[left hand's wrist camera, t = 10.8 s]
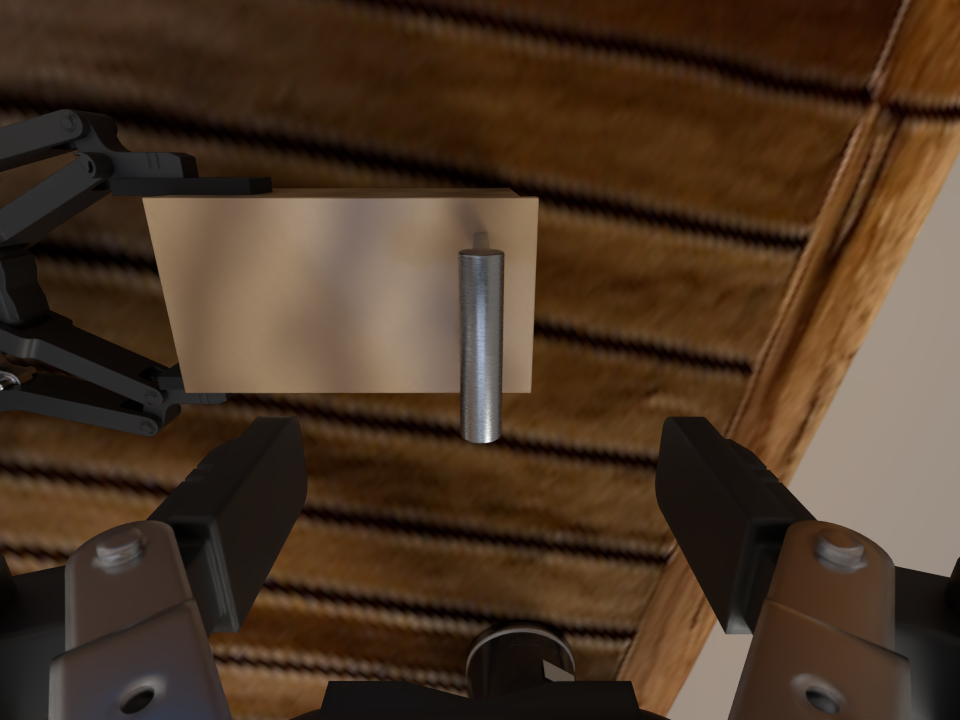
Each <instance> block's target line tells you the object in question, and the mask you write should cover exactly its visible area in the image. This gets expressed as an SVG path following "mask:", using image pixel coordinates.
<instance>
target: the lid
mask: <svg viewBox="0 0 960 720" xmlns="http://www.w3.org/2000/svg"><path fill="white" fill-rule="evenodd" d="M142 200H143V204H144V209H145V213H146V218H147V222H148V226H149V231H150V235H151V240H152V244H153V249H154V253H155V258H156V262H157V267H158V271H159V276H160V280H161V285H162V289H163V294H164V298H165V303H166V307H167V311H168V316H169V320H170V325H171V329H172V334H173V338H174V343H175V347H176V352H177V356H178V361H179V365H180V370H181V374H182V379H183V383H184V388H185V392H186V393H460V429H461V436H462V437H463V438H464V439H465V440H467V441H469V442H473V443H490V442H493V441H495V440H497V439H498V438H499V437H500V436H501V433H502V393H531V382H532V356H533V331H534V305H535V279H536V254H537V228H538V202H539V199H538V198H537V197H144V198H142Z"/></svg>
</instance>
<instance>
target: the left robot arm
mask: <svg viewBox="0 0 960 720" xmlns="http://www.w3.org/2000/svg"><path fill="white" fill-rule="evenodd" d="M655 490H656V497H657V502H658V505H659V508H660V510H661V512H662V513H663V515H664V517H665V519H666V521H667V523H668V525H669V527H670V529H671V531H672V533H673V534H674V536H675V538H676V540H677V542H678V544H679V546H680V548H681V550H682V552H683V554H684V555H685V557H686V559H687V561H688V563H689V565H690V567H691V569H692V571H693V573H694V575H695V577H696V578H697V580H698V582H699V584H700V586H701V588H702V590H703V592H704V594H705V596H706V598H707V599H708V601H709V603H710V605H711V607H712V609H713V611H714V613H715V615H716V617H717V619H718V620H719V622H720V624H721V626H722V628H723V630H724V632H725V634H753V638H752V642H751V645H750V648H749V652H748V655H747V658H746V661H745V665H744V668H743V671H742V674H741V678H740V681H739V684H738V687H737V691H736V694H735V697H734V701H733V704H732V707H731V710H730V714H729V717H728V720H960V557H959V558H958V560H957V562H956V565H955V567H954V569H953V572H952V574H951V577H945V576H940V575H935V574H930V573H926V572H921V571H916V570H911V569H906V568H902V567H897V566H894V563H893V561H892V559H891V558H890V557H889V555H888V554H887V553H886V552H885V551H884V550H883V549H882V548H881V547H880V546H879V545H877V544H876V543H875V542H873V541H872V540H870V539H869V538H867V537H865V536H863V535H862V534H860V533H858V532H856V531H853V530H851V529H849V528H846V527H843V526H840V525H837V524H833V523H829V522H824V521H817V520H816V518H815V517H814V516H813V515H812V514H811V513H810V512H809V511H808V510H807V509H806V508H805V507H804V506H803V505H802V504H801V503H800V502H799V501H798V500H797V498H796V497H795V496H794V495H793V494H792V493H791V492H790V491H789V490H788V489H787V488H786V487H785V486H784V485H783V484H782V483H779V482H778V478H777V477H776V476H775V475H774V474H773V473H772V472H771V471H770V470H767V467H766V466H765V465H764V464H763V463H762V462H761V461H760V459H759V458H758V457H757V456H756V455H755V454H754V453H753V452H752V451H750V450H748V449H746V448H745V447H743V446H741V445H740V444H738V443H736V442H734V441H733V440H731V439H724V438H723V437H722V436H721V434H720V433H719V432H718V431H717V430H716V429H715V428H714V427H713V425H712V424H711V423H710V422H709V421H708V420H707V419H706V418H705V417H667V418H666V420H665V422H664V425H663V429H662V436H661V443H660V450H659V457H658V464H657V471H656V479H655ZM306 494H307V473H306V466H305V459H304V452H303V445H302V437H301V430H300V425H299V421H298V419H297V418H296V417H295V416H259V417H257V418H256V419H255V420H254V421H253V423H252V424H251V425H250V426H249V427H248V428H247V429H246V430H245V432H244V433H243V434H242V435H241V436H240V437H239V438H232V439H231V440H229V441H227V442H225V443H224V444H222V445H220V446H219V447H217V448H215V449H214V450H212V451H211V452H210V453H209V454H208V455H207V456H206V457H205V458H204V459H203V460H202V461H201V462H200V463H199V464H198V465H197V469H194V470H193V471H192V472H191V473H190V474H189V475H188V476H187V477H186V478H185V482H181V483H180V484H179V486H178V487H177V488H176V489H175V490H174V491H173V492H172V493H171V494H170V495H169V496H168V497H167V498H166V499H165V500H164V501H163V503H162V504H161V505H160V506H159V507H158V508H157V509H156V510H155V511H154V512H153V513H152V514H151V515H150V516H149V517H148V519H147V520H144V521H136V522H131V523H127V524H123V525H120V526H117V527H114V528H111V529H109V530H107V531H104V532H102V533H100V534H98V535H97V536H95V537H93V538H91V539H90V540H88V541H87V542H85V543H84V544H83V545H81V546H80V547H79V548H78V549H77V550H76V551H75V552H74V553H73V554H72V555H71V557H70V558H69V559H68V561H67V563H66V565H64V566H60V567H55V568H50V569H45V570H40V571H36V572H31V573H26V574H21V575H16V576H12V575H11V572H10V570H9V567H8V565H7V562H6V560H5V558H4V556H3V555H2V554H0V720H232V717H231V714H230V710H229V707H228V704H227V701H226V697H225V694H224V691H223V687H222V684H221V681H220V678H219V674H218V671H217V668H216V665H215V661H214V658H213V655H212V652H211V648H210V645H209V642H208V638H209V636H210V635H211V633H212V632H239V630H240V628H241V626H242V624H243V622H244V620H245V618H246V616H247V614H248V613H249V611H250V609H251V607H252V605H253V603H254V601H255V599H256V597H257V595H258V593H259V591H260V589H261V587H262V585H263V583H264V582H265V580H266V578H267V576H268V574H269V572H270V570H271V568H272V566H273V564H274V562H275V560H276V558H277V556H278V554H279V553H280V551H281V549H282V547H283V545H284V543H285V541H286V539H287V537H288V535H289V533H290V531H291V529H292V527H293V525H294V524H295V522H296V520H297V518H298V516H299V514H300V512H301V510H302V508H303V506H304V503H305V499H306ZM466 677H467V697H462V696H459V695H455V694H451V693H447V692H443V691H439V690H436V689H432V688H428V687H424V686H420V685H417V684H413V683H409V682H405V681H329V682H328V686H327V689H326V693H325V696H324V700H323V703H322V706H321V709H318V710H314V711H310V712H308V713H305V714H302V715H300V716H297V717H294V718H292V719H290V720H670V719H668V718H666V717H663V716H660V715H658V714H655V713H652V712H650V711H646V710H642V709H639V706H638V703H637V700H636V696H635V693H634V689H633V686H632V682H631V681H576V677H575V666H574V660H573V655H572V651H571V648H570V646H569V644H568V642H567V641H566V640H565V639H564V638H563V637H562V636H561V635H560V634H559V633H558V632H556V631H555V630H553V629H551V628H549V627H547V626H544V625H541V624H537V623H532V622H510V623H505V624H501V625H498V626H495V627H493V628H491V629H489V630H487V631H485V632H484V633H482V634H481V635H480V636H479V637H477V638H476V640H475V641H474V642H473V643H472V645H471V646H470V648H469V650H468V653H467V658H466Z"/></svg>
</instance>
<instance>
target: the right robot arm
mask: <svg viewBox="0 0 960 720" xmlns="http://www.w3.org/2000/svg"><path fill="white" fill-rule="evenodd" d="M116 135H117V126H116V123H115V122H114V120H113V119H112V118H111V117H109V116H108V115H105V114H99V113H92V112H85V111H77V110H70V109H62V110H58V111H55V112H52V113H48V114H45V115H41V116H38V117H35V118H31V119H28V120H25V121H21V122H18V123H15V124H11V125H8V126H4V127H1V128H0V172H2V171H6V170H9V169H13V168H16V167H20V166H23V165H26V164H30V163H33V162H37V161H40V160H44V159H47V158H51V157H54V156H58V155H61V154H65V153H68V152H71V151H75V150H79V152H75V153H73V155H74V156H80V157H79V158H77V159H76V160H74V161H73V162H71V163H70V164H68V165H67V166H65V167H64V168H62V169H61V170H59V171H58V172H56V173H54V174H53V175H51V176H50V177H48V178H47V179H45V180H44V181H42V182H41V183H39V184H38V185H36V186H35V187H33V188H32V189H30V190H29V191H27V192H26V193H24V194H23V195H21V196H20V197H18V198H17V199H15V200H14V201H12V202H11V203H9V204H8V205H6V206H5V207H3V208H2V209H0V411H10V410H23V411H28V412H33V413H38V414H43V415H47V416H52V417H57V418H62V419H67V420H71V421H76V422H81V423H86V424H91V425H95V426H100V427H105V428H110V429H115V430H119V431H124V432H129V433H134V434H139V435H143V436H153V435H155V434H157V433H158V432H159V431H160V430H161V429H163V428H164V427H165V426H166V425H167V424H169V423H170V422H171V421H172V420H173V419H175V418H176V417H177V416H178V415H179V414H180V413H181V406H180V405H179V404H219V403H222V402H224V401H227V400H228V399H229V398H230V397H231V396H232V395H233V394H234V393H186V392H185V388H184V383H183V379H182V374H181V370H180V365H179V363H177V364H176V365H174V366H173V367H171V368H168V367H166V366H164V365H161V364H159V363H157V362H155V361H152V360H150V359H148V358H145V357H143V356H141V355H139V354H136V353H134V352H132V351H130V350H127V349H125V348H123V347H120V346H118V345H116V344H114V343H111V342H109V341H107V340H104V339H102V338H100V337H98V336H95V335H93V334H91V333H88V332H86V331H84V330H82V329H79V328H77V327H75V326H73V325H72V323H73V322H72V320H70V319H69V318H67V317H64V316H62V315H60V314H57V313H55V312H53V311H51V310H49V306H48V303H47V299H46V296H45V294H44V293H43V291H42V289H41V287H40V286H39V284H38V282H37V267H36V264H35V260H34V257H33V254H32V253H26V251H25V250H27V249H28V248H30V247H31V246H33V245H34V244H36V243H38V242H39V241H41V240H42V239H44V238H45V237H47V234H46V233H48V232H49V231H51V230H53V229H54V228H56V227H57V226H59V225H60V224H62V223H63V222H65V221H67V220H68V219H70V218H71V217H73V216H74V215H76V214H78V213H79V212H81V211H82V210H84V209H85V208H87V207H89V206H90V205H92V204H93V203H95V202H96V201H98V200H100V199H101V198H103V197H104V196H106V195H107V194H109V193H111V192H112V193H113V196H165V195H255V194H263V193H270V192H273V191H272V183H271V177H199V176H198V170H197V165H196V159H195V157H193V156H191V155H188V154H186V153H174V152H131V151H129V150H127V149H126V148H125V147H124V146H123V145H122V144H121V143H120V141H119V140H118V138H117V136H116ZM7 353H8V354H10V355H12V356H15V357H18V358H35V359H38V360H40V361H43V362H45V363H47V364H50V365H52V366H54V367H57V368H59V369H61V370H64V371H66V372H68V373H71V374H73V375H76V376H78V377H80V378H83V379H85V380H87V381H85V380H80V379H75V378H71V377H66V376H61V375H55V374H37V370H36V369H35V368H34V367H27V368H24V367H21V366H15V365H12V364H11V363H9V362H8V361H7V360H6V358H5V357H4V356H5V355H6V354H7ZM89 381H90V382H89Z"/></svg>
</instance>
